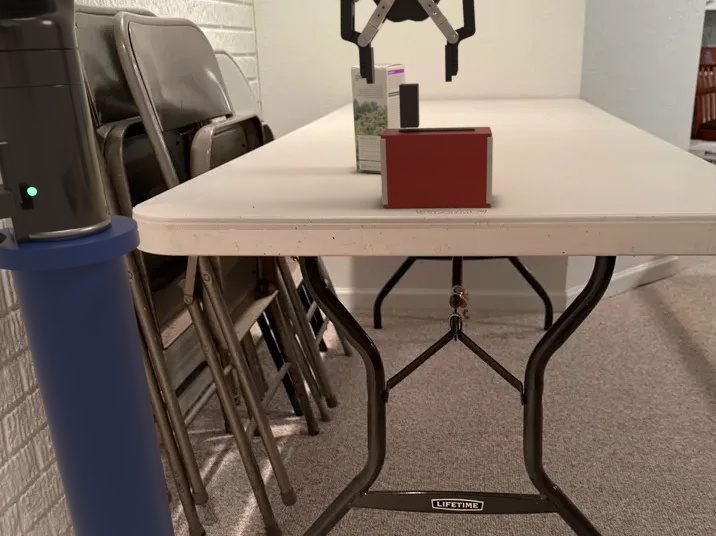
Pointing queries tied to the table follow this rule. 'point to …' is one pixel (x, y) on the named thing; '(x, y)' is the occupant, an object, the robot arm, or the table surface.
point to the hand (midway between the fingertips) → (409, 82)
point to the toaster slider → (409, 105)
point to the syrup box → (375, 111)
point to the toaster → (436, 167)
